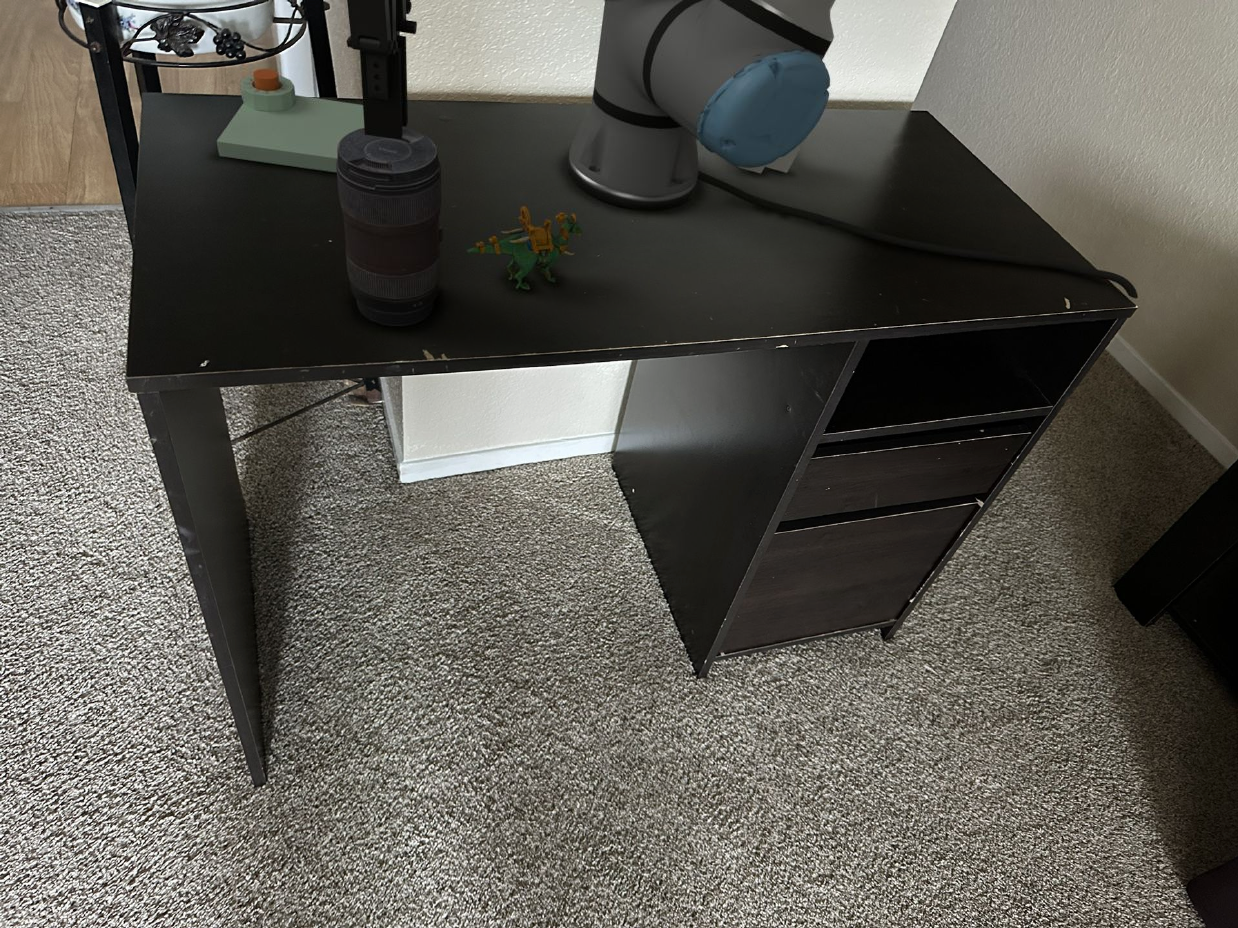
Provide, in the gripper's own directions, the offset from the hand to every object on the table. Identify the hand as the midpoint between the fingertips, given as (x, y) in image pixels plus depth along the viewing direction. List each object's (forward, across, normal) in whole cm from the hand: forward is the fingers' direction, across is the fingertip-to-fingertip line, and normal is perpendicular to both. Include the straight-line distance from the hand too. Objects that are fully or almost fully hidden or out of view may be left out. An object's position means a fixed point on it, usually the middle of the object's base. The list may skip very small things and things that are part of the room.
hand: (386, 128), depth 67 cm
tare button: (+13, -32, -20) cm, 40 cm away
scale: (+16, -28, -15) cm, 36 cm away
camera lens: (+17, 0, 0) cm, 17 cm away
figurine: (+17, -6, +11) cm, 21 cm away
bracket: (+17, -42, +37) cm, 58 cm away
